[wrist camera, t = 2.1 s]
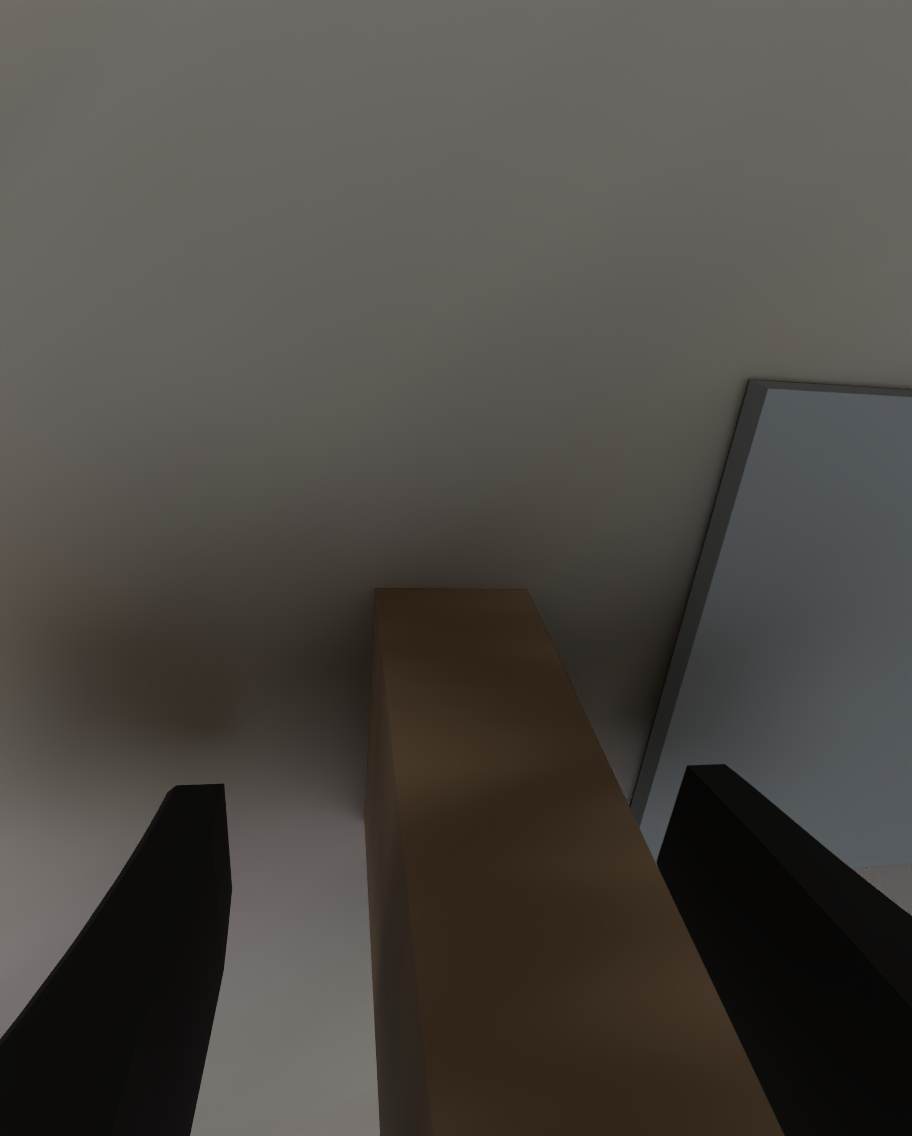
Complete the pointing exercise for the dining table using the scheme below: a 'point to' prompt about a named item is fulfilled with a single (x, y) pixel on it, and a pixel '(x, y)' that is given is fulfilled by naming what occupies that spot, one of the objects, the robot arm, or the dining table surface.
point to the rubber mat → (802, 624)
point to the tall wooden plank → (523, 902)
